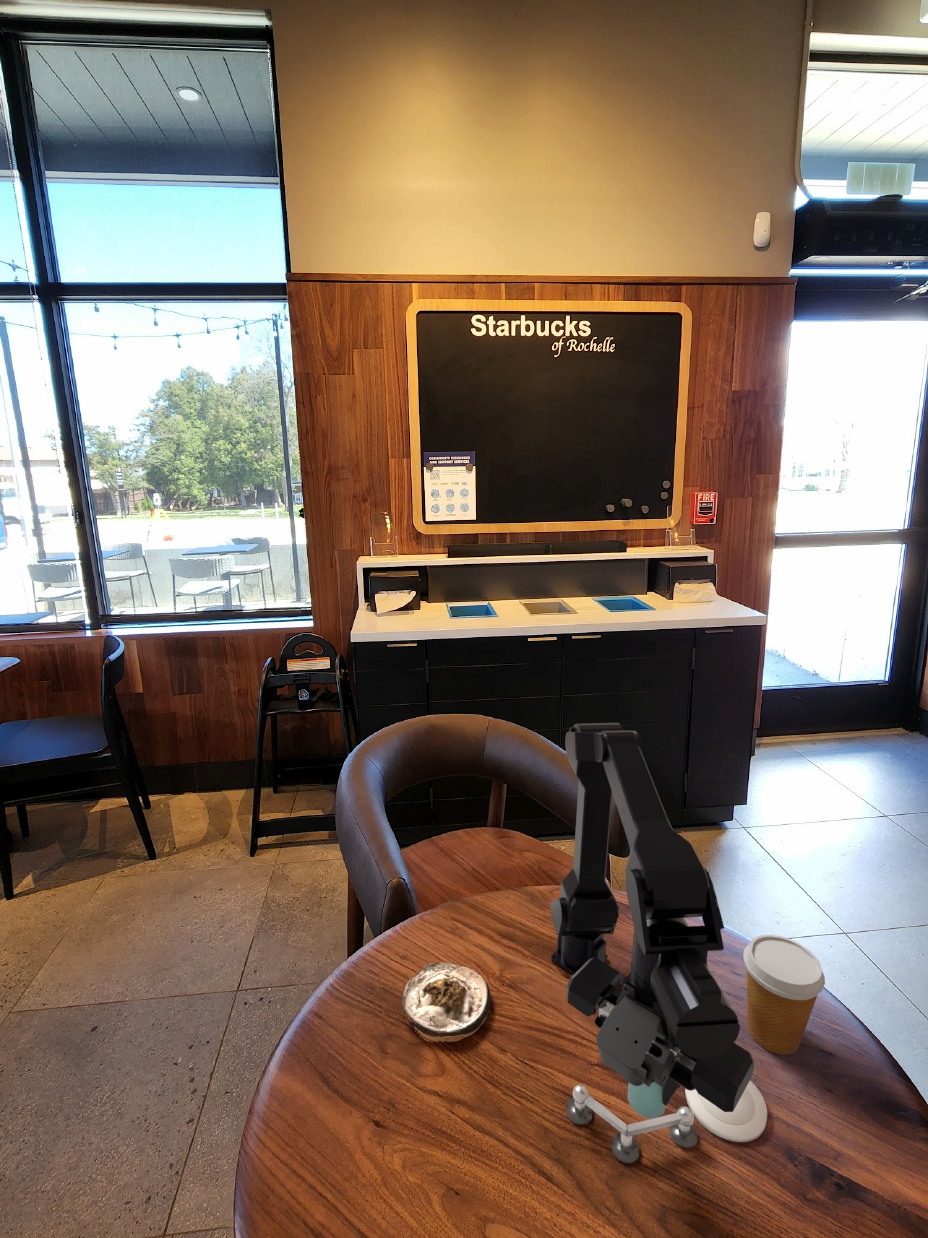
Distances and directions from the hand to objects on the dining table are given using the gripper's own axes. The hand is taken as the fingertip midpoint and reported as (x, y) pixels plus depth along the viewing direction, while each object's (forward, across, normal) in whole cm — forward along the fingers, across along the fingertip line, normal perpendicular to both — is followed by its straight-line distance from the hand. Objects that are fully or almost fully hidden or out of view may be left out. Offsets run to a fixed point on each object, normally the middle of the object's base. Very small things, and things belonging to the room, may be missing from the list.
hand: (647, 1088), depth 68 cm
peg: (+2, 0, 0) cm, 2 cm away
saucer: (+8, +5, +11) cm, 15 cm away
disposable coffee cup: (+8, +6, +25) cm, 27 cm away
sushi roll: (+9, -29, -2) cm, 30 cm away
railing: (+8, -2, +1) cm, 8 cm away
